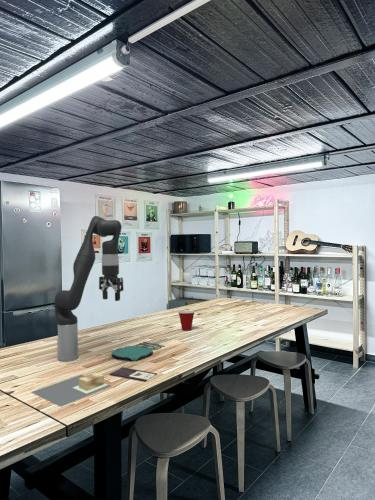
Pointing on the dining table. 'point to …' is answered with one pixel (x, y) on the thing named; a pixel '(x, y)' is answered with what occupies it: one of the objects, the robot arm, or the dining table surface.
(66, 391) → the rubber mat
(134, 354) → the table tennis paddle
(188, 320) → the plastic cup
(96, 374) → the oak block
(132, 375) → the chocolate bar
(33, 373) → the dining table surface
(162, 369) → the dining table surface
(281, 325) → the dining table surface
